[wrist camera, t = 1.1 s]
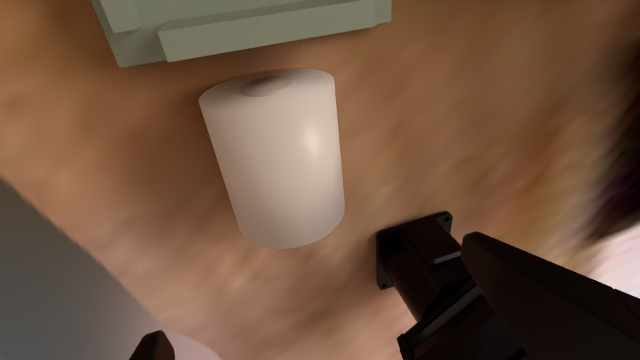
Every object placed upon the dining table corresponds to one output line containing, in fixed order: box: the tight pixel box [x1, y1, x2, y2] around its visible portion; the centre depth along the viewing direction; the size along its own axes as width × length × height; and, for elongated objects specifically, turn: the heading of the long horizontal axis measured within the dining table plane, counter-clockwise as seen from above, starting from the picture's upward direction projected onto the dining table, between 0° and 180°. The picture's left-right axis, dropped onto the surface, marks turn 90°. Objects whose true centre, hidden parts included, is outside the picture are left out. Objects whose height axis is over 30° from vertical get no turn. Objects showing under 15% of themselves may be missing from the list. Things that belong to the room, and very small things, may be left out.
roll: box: [199, 68, 345, 249], centre depth 17 cm, size 7×6×6 cm
